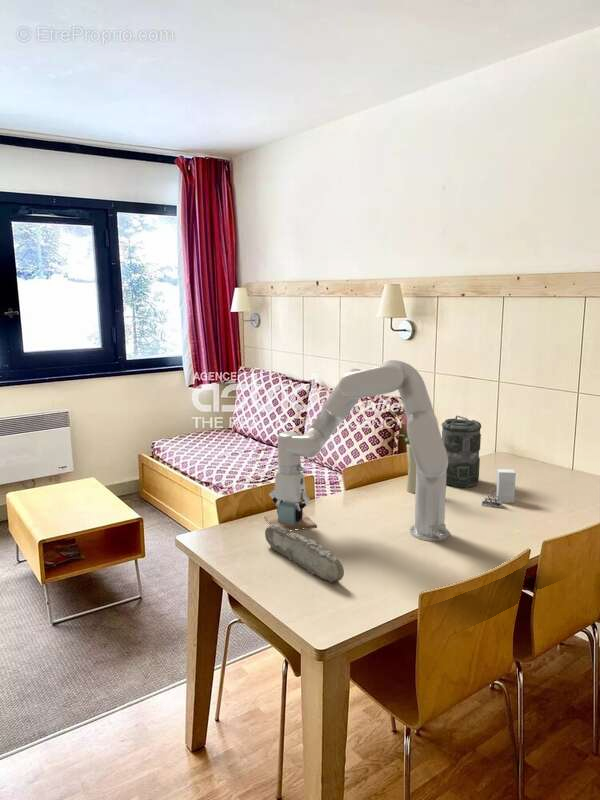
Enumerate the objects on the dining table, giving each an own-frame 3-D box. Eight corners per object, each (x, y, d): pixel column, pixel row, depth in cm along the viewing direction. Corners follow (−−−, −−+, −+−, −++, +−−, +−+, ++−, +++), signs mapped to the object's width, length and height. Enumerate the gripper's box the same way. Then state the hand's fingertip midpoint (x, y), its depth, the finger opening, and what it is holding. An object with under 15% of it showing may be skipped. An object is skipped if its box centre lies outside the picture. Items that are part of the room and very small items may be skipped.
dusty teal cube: (301, 519, 202) (301, 502, 201) (293, 525, 196) (293, 508, 195) (286, 516, 204) (286, 499, 203) (278, 522, 199) (277, 505, 198)
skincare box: (512, 499, 223) (513, 469, 221) (514, 503, 219) (516, 472, 216) (495, 498, 224) (497, 468, 221) (497, 502, 219) (499, 472, 217)
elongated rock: (259, 550, 181) (259, 520, 179) (273, 545, 185) (272, 516, 183) (337, 593, 155) (337, 559, 153) (351, 587, 158) (351, 553, 156)
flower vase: (407, 500, 223) (409, 410, 216) (385, 491, 233) (387, 405, 226) (429, 494, 229) (432, 407, 223) (407, 485, 239) (409, 402, 233)
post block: (316, 528, 197) (316, 512, 196) (277, 535, 192) (277, 518, 191) (301, 514, 210) (300, 498, 209) (264, 520, 204) (263, 504, 203)
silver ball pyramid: (509, 503, 220) (510, 483, 218) (506, 510, 212) (507, 490, 211) (484, 499, 224) (485, 480, 222) (480, 507, 216) (481, 487, 215)
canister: (431, 479, 247) (433, 415, 242) (461, 474, 253) (463, 411, 248) (456, 490, 233) (459, 422, 228) (486, 485, 239) (490, 418, 234)
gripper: (317, 468, 196) (317, 519, 200) (272, 462, 204) (273, 510, 208) (306, 475, 190) (307, 526, 193) (261, 468, 198) (262, 517, 201)
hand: (289, 518), depth 200 cm, fingers open, 6 cm apart
